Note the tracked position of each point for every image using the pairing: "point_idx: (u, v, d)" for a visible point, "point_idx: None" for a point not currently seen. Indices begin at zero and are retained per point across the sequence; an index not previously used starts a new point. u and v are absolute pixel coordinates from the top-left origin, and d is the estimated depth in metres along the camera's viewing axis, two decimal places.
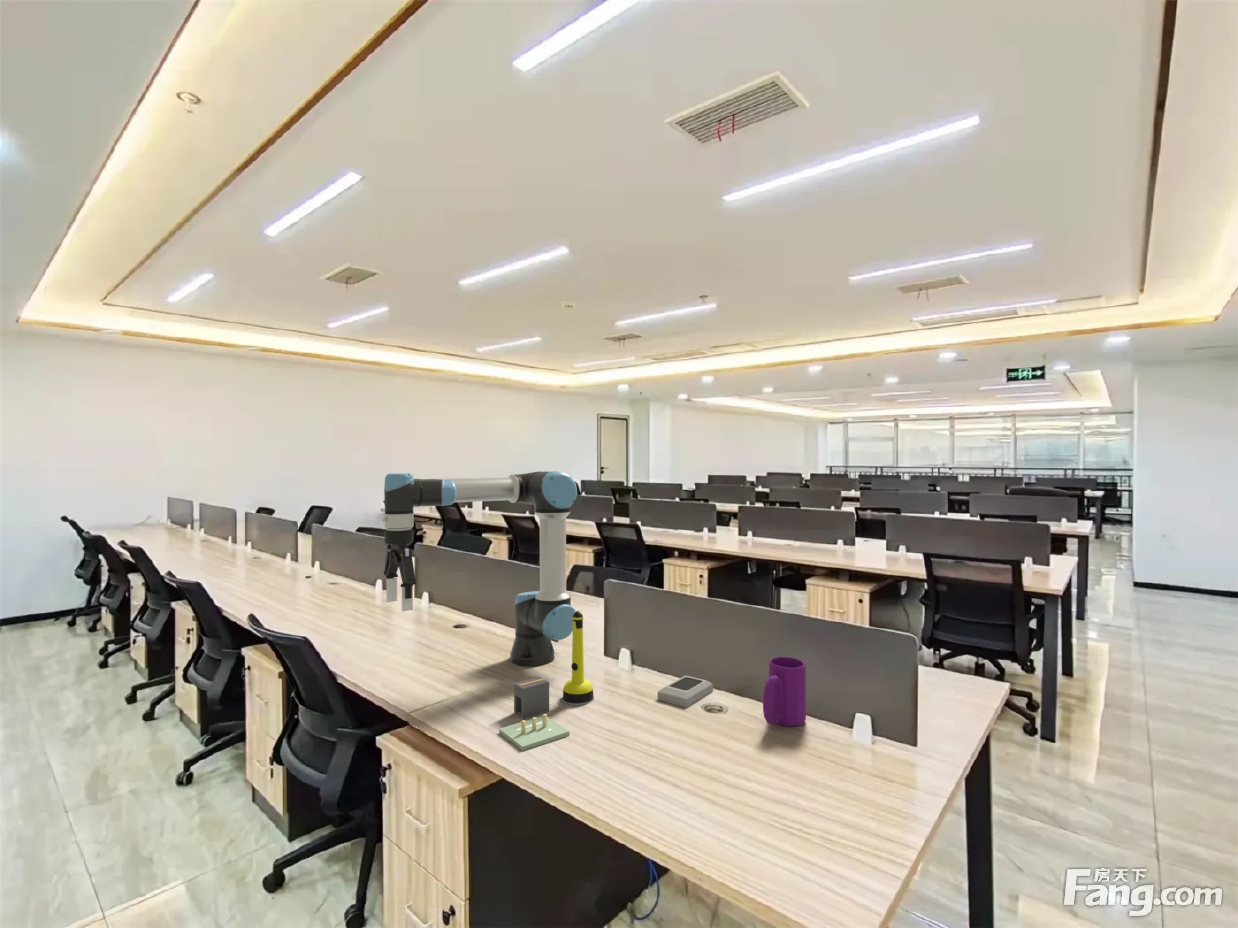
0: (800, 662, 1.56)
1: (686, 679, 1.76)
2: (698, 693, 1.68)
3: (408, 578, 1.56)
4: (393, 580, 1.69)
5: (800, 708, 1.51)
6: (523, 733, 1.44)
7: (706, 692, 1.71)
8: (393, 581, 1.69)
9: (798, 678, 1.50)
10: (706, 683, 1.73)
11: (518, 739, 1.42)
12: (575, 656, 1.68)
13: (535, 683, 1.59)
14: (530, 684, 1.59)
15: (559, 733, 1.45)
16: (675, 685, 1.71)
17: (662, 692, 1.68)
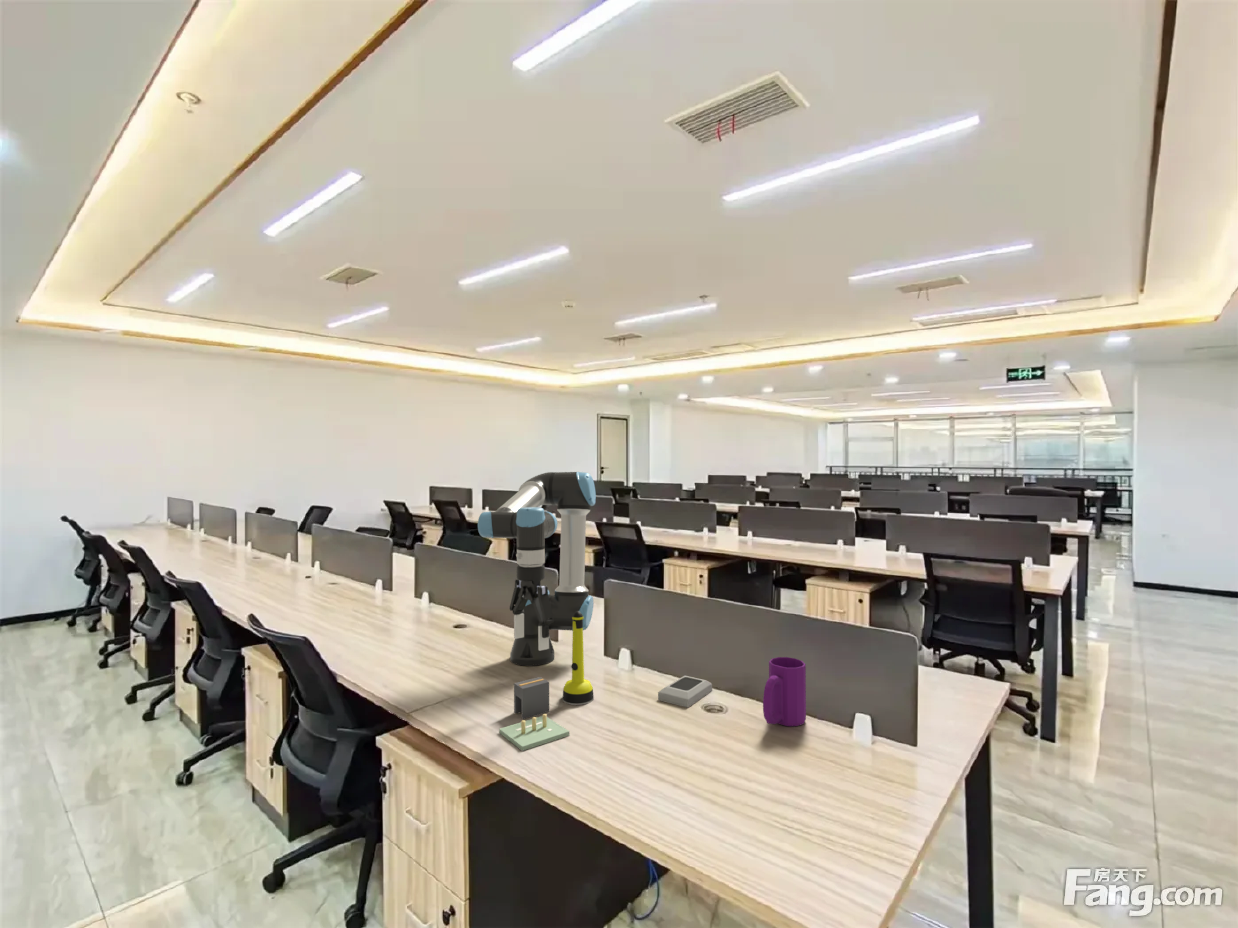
0: (800, 662, 1.56)
1: (685, 679, 1.76)
2: (698, 693, 1.68)
3: (547, 617, 1.52)
4: (520, 616, 1.65)
5: (800, 708, 1.51)
6: (523, 733, 1.44)
7: (706, 692, 1.72)
8: (520, 617, 1.65)
9: (798, 678, 1.50)
10: (706, 683, 1.73)
11: (518, 739, 1.42)
12: (575, 656, 1.68)
13: (535, 683, 1.59)
14: (530, 684, 1.59)
15: (559, 733, 1.45)
16: (675, 685, 1.71)
17: (663, 692, 1.67)
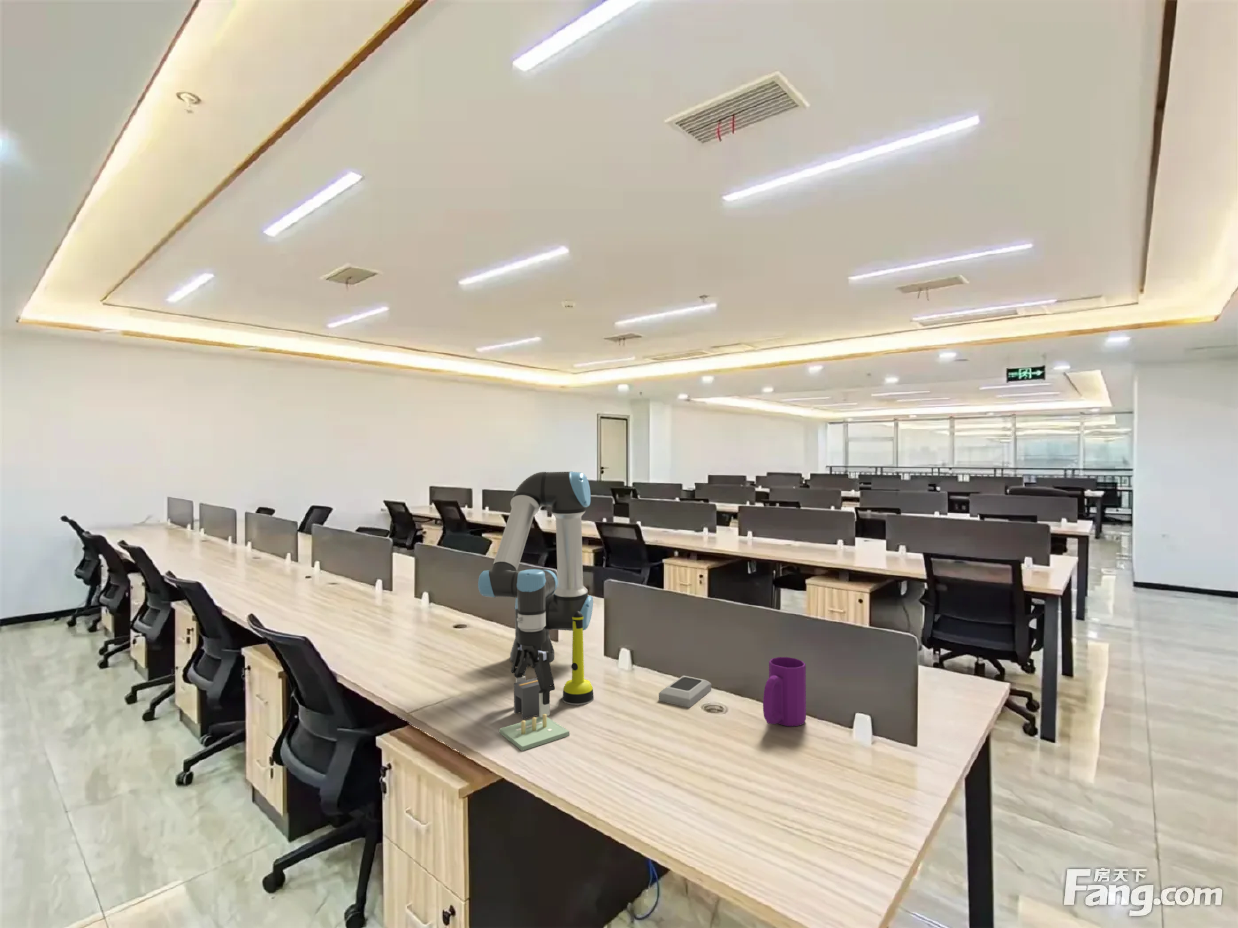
0: (800, 662, 1.56)
1: (684, 679, 1.76)
2: (699, 693, 1.68)
3: (548, 684, 1.52)
4: (522, 679, 1.65)
5: (800, 708, 1.51)
6: (523, 733, 1.44)
7: (706, 691, 1.72)
8: (522, 680, 1.65)
9: (798, 678, 1.50)
10: (705, 682, 1.74)
11: (518, 739, 1.42)
12: (575, 656, 1.68)
13: (535, 683, 1.59)
14: (530, 684, 1.59)
15: (559, 733, 1.45)
16: (675, 685, 1.71)
17: (664, 693, 1.67)
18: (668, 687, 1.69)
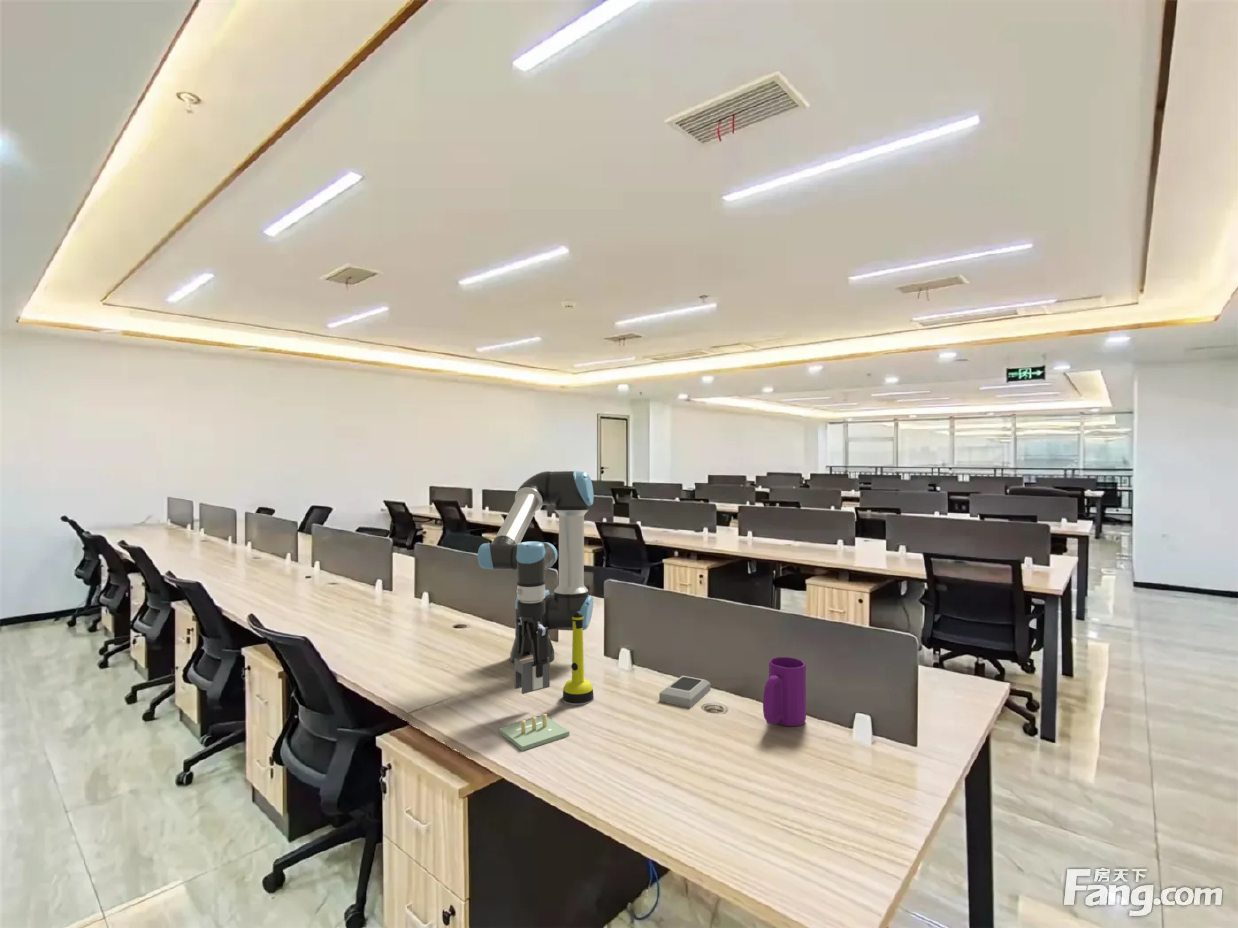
0: (800, 662, 1.56)
1: (684, 679, 1.76)
2: (699, 693, 1.68)
3: (541, 659, 1.55)
4: None
5: (800, 708, 1.51)
6: (523, 733, 1.44)
7: (705, 691, 1.72)
8: None
9: (798, 678, 1.50)
10: (705, 682, 1.74)
11: (518, 739, 1.42)
12: (575, 656, 1.68)
13: None
14: (530, 659, 1.60)
15: (559, 733, 1.45)
16: (675, 686, 1.71)
17: (664, 693, 1.67)
18: (668, 687, 1.69)
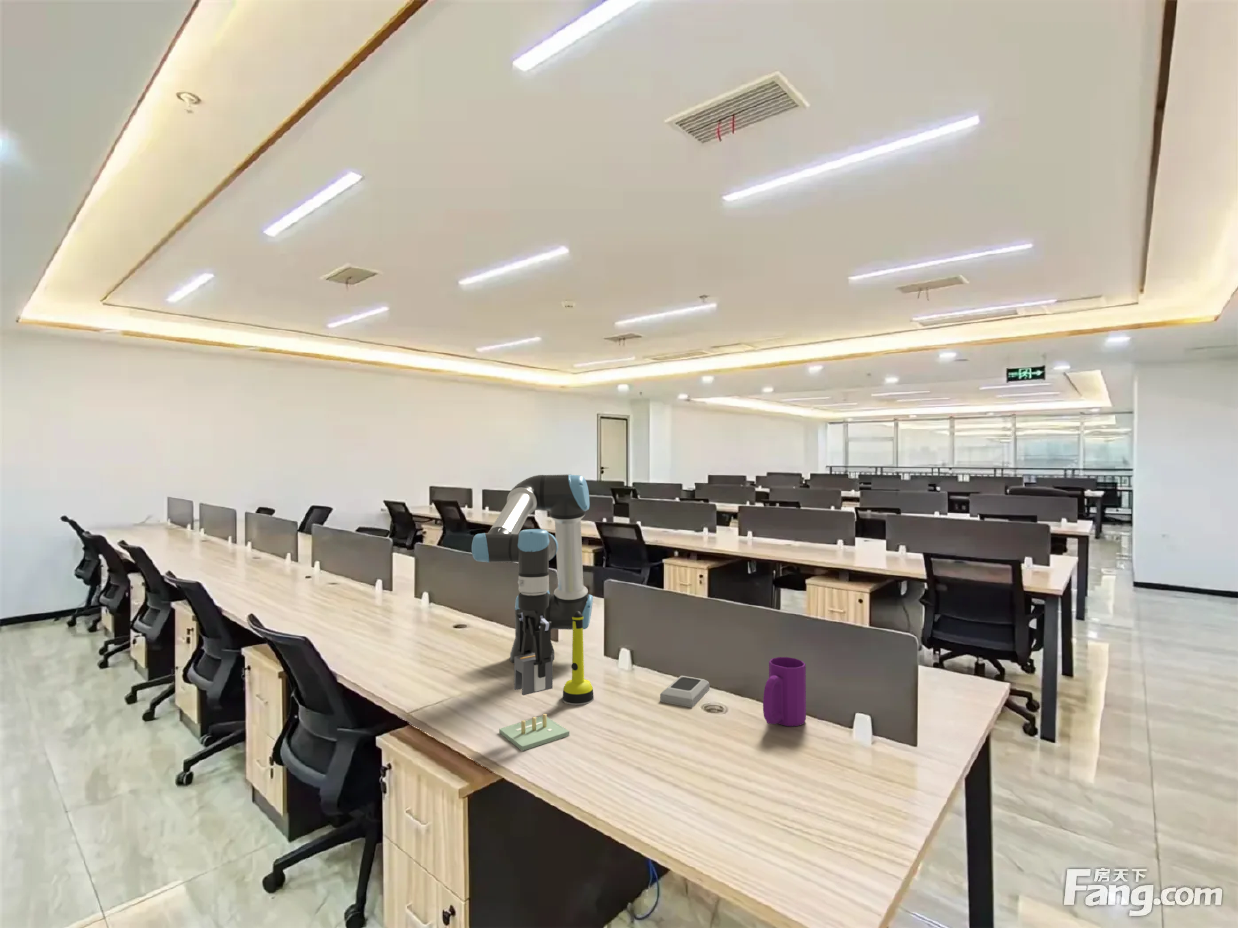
0: (800, 662, 1.56)
1: (683, 679, 1.76)
2: (699, 693, 1.68)
3: (544, 657, 1.42)
4: None
5: (800, 708, 1.51)
6: (523, 733, 1.44)
7: (705, 691, 1.73)
8: None
9: (798, 678, 1.50)
10: (704, 682, 1.74)
11: (518, 739, 1.42)
12: (575, 656, 1.68)
13: None
14: (532, 657, 1.46)
15: (559, 733, 1.45)
16: (675, 686, 1.71)
17: (665, 694, 1.66)
18: (669, 688, 1.68)
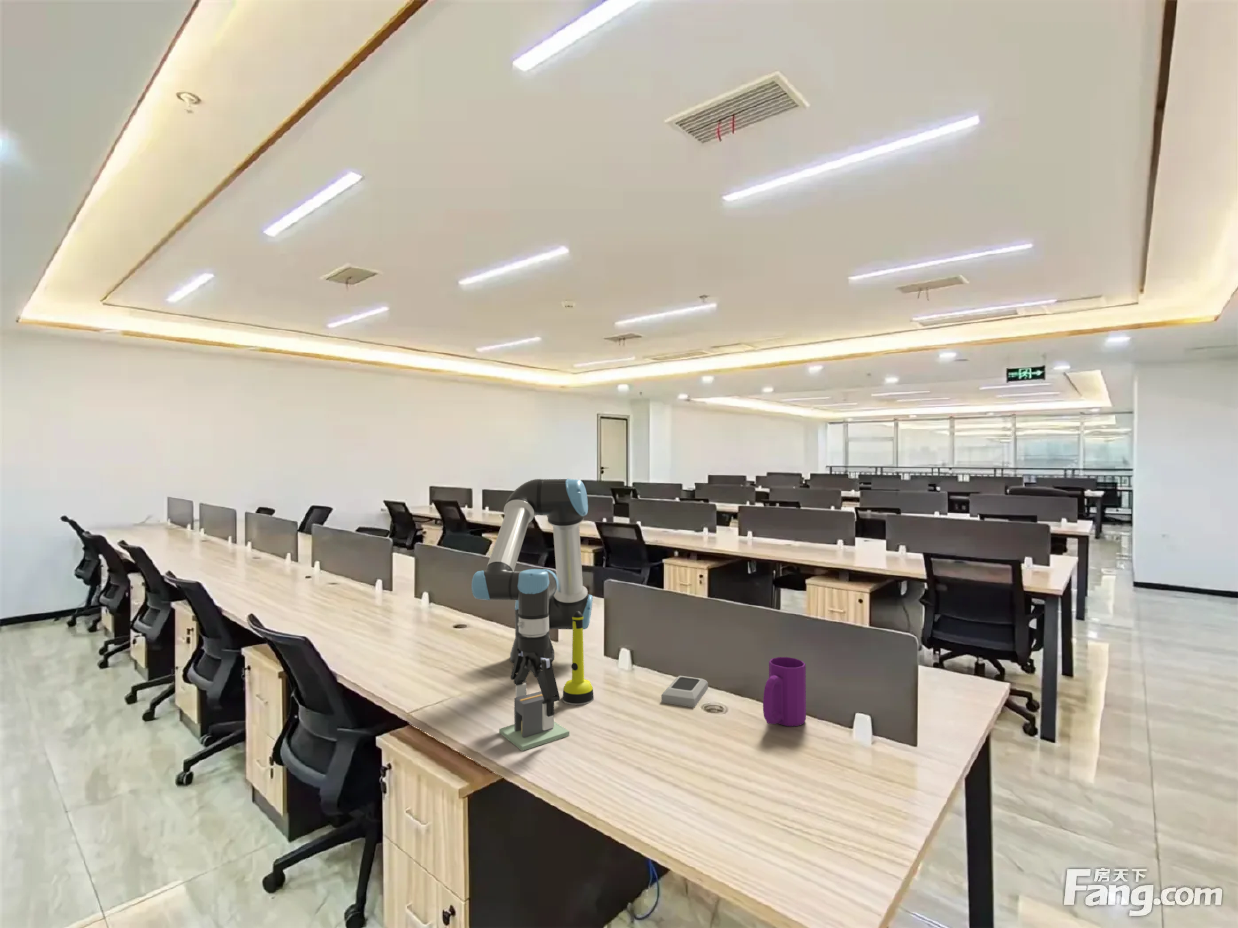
0: (800, 662, 1.56)
1: (682, 679, 1.76)
2: (700, 692, 1.68)
3: (552, 694, 1.39)
4: (522, 686, 1.52)
5: (800, 708, 1.51)
6: None
7: (704, 690, 1.73)
8: (522, 688, 1.52)
9: (798, 678, 1.50)
10: (703, 681, 1.75)
11: (518, 739, 1.42)
12: (575, 656, 1.68)
13: (537, 698, 1.46)
14: (532, 698, 1.46)
15: (559, 733, 1.45)
16: (675, 686, 1.70)
17: (666, 694, 1.66)
18: (670, 688, 1.68)
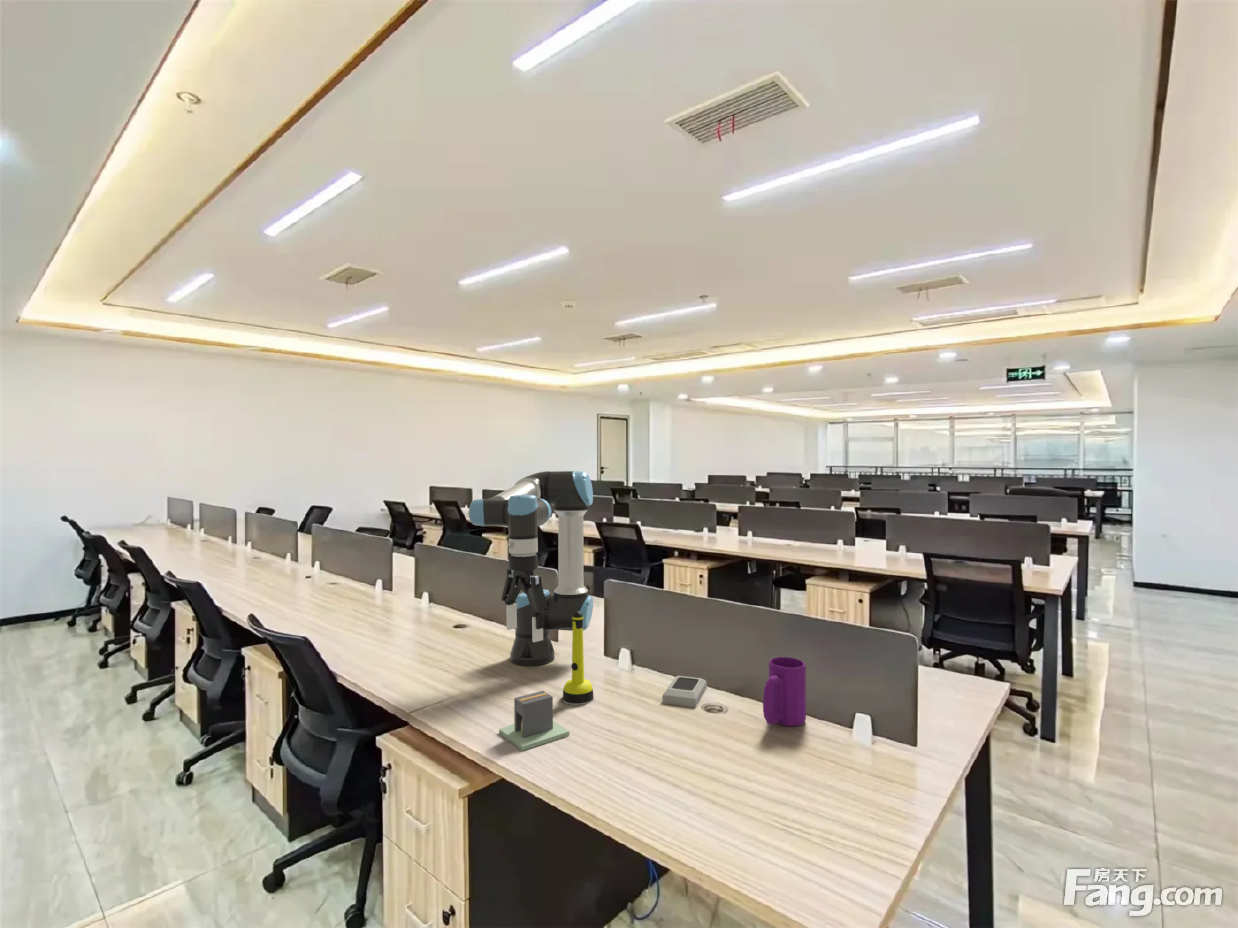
0: (800, 662, 1.56)
1: (681, 679, 1.76)
2: (700, 692, 1.69)
3: (541, 608, 1.47)
4: (513, 606, 1.61)
5: (800, 708, 1.51)
6: None
7: (704, 690, 1.73)
8: (513, 607, 1.61)
9: (798, 678, 1.50)
10: (702, 681, 1.75)
11: (518, 739, 1.42)
12: (575, 656, 1.68)
13: (537, 698, 1.46)
14: (532, 698, 1.46)
15: (559, 733, 1.45)
16: (676, 686, 1.70)
17: (667, 695, 1.66)
18: (670, 688, 1.68)
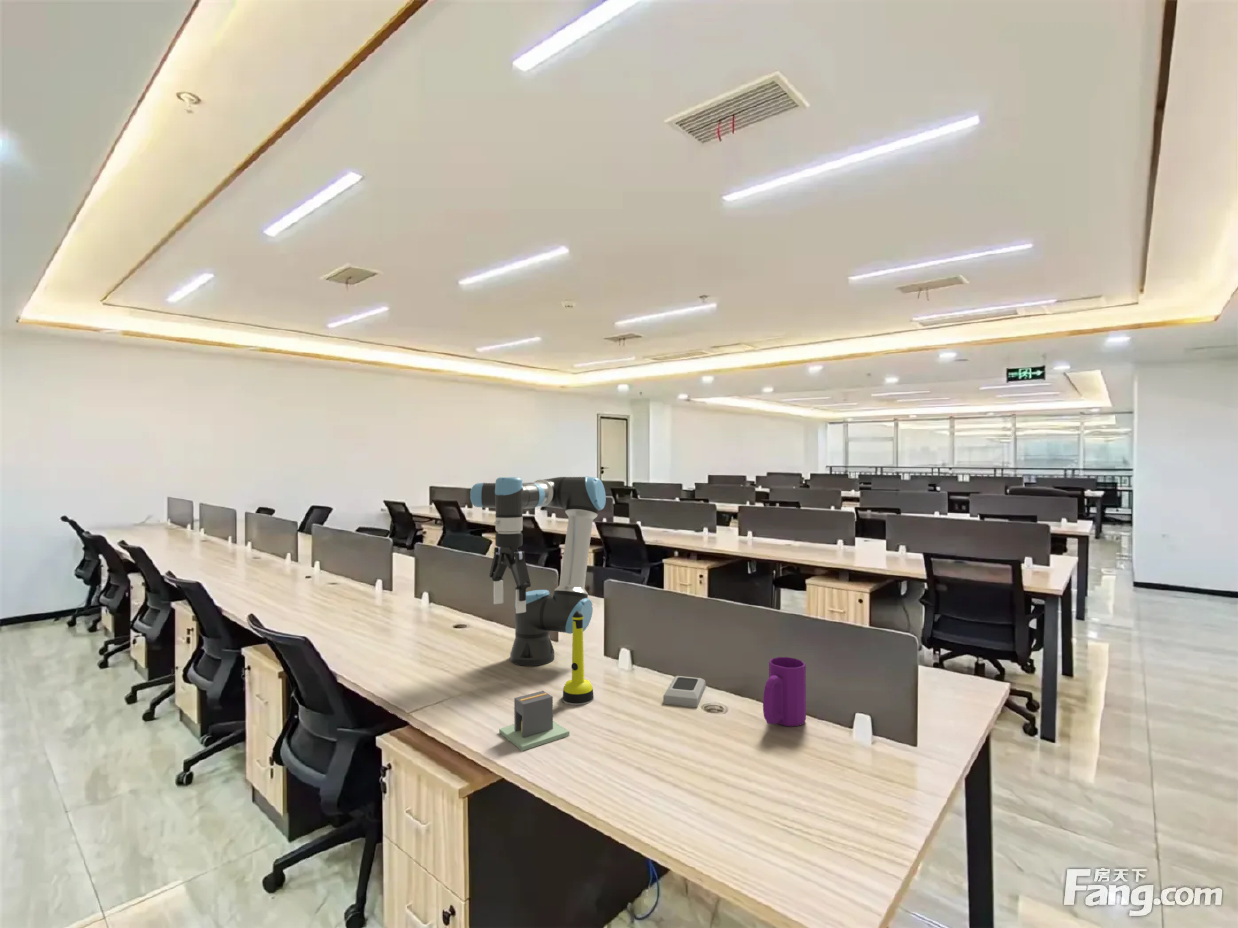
0: (800, 662, 1.56)
1: (680, 679, 1.76)
2: (701, 692, 1.69)
3: (523, 581, 1.58)
4: (500, 582, 1.71)
5: (800, 708, 1.51)
6: None
7: (703, 689, 1.74)
8: (500, 583, 1.71)
9: (798, 678, 1.50)
10: (701, 680, 1.75)
11: (518, 739, 1.42)
12: (575, 656, 1.68)
13: (537, 698, 1.46)
14: (532, 698, 1.46)
15: (559, 733, 1.45)
16: (676, 686, 1.70)
17: (669, 695, 1.65)
18: (671, 689, 1.68)
